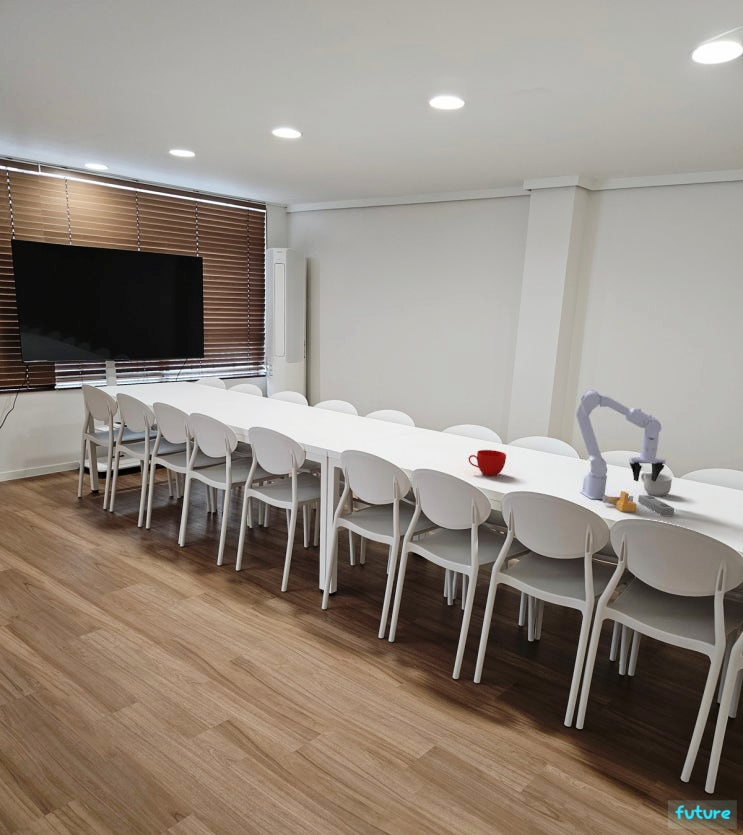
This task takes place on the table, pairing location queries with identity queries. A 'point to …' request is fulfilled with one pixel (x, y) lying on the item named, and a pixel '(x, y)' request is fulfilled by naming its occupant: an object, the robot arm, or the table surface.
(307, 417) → the table surface
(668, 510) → the power strip
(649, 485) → the teacup
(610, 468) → the table surface
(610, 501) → the clip
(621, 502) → the plug
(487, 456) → the ceramic cup
